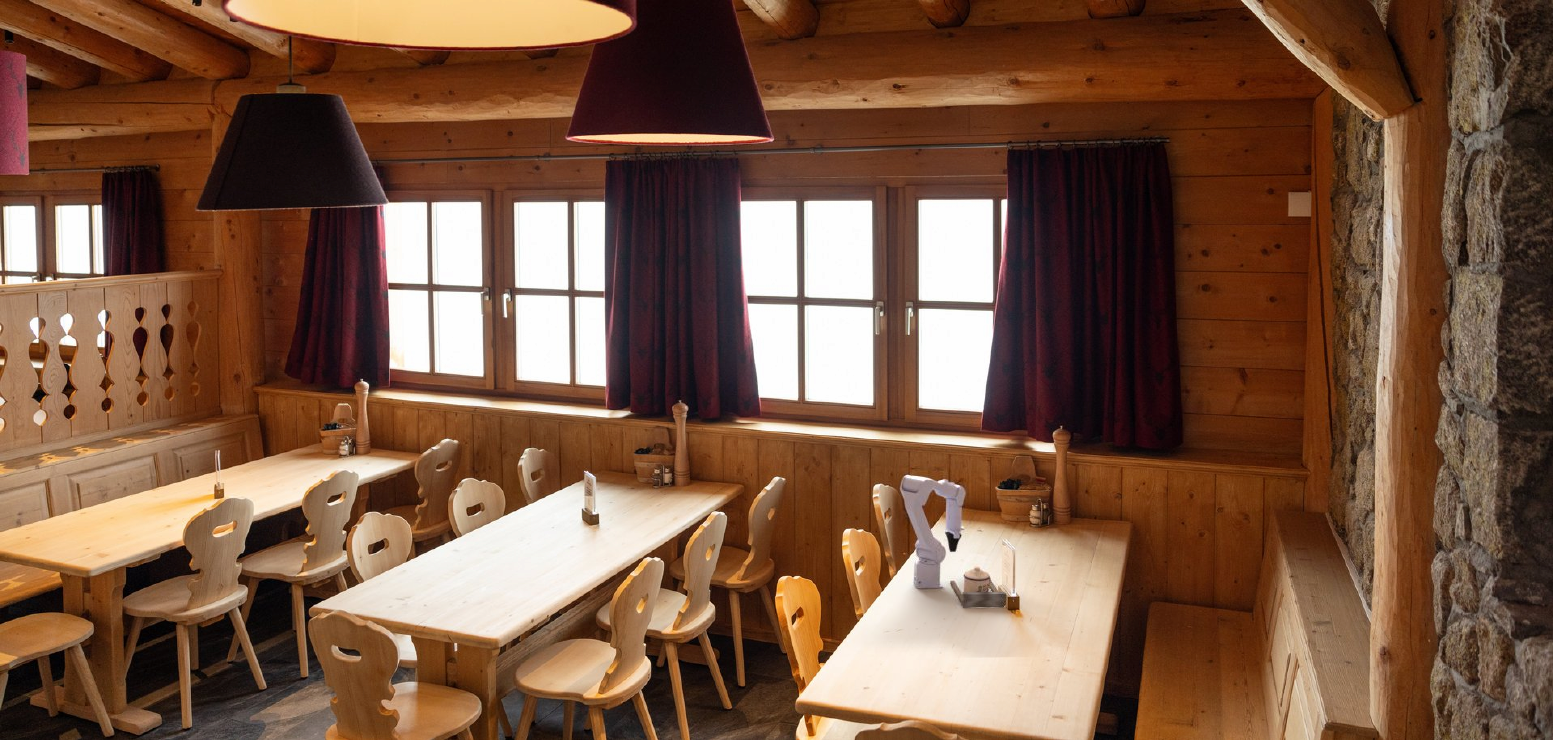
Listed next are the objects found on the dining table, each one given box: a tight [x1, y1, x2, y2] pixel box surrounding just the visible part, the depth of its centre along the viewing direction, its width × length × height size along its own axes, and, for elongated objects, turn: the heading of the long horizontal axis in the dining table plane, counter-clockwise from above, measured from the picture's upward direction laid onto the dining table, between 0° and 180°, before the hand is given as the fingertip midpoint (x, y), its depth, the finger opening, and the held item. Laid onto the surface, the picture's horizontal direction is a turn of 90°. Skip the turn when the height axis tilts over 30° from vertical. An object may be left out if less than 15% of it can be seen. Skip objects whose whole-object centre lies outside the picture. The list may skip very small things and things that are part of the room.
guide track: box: [949, 580, 1007, 609], centre depth 423 cm, size 15×24×5 cm, turn 2°
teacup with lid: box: [963, 566, 992, 592], centre depth 420 cm, size 12×9×12 cm
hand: (952, 551), depth 443 cm, fingers closed
